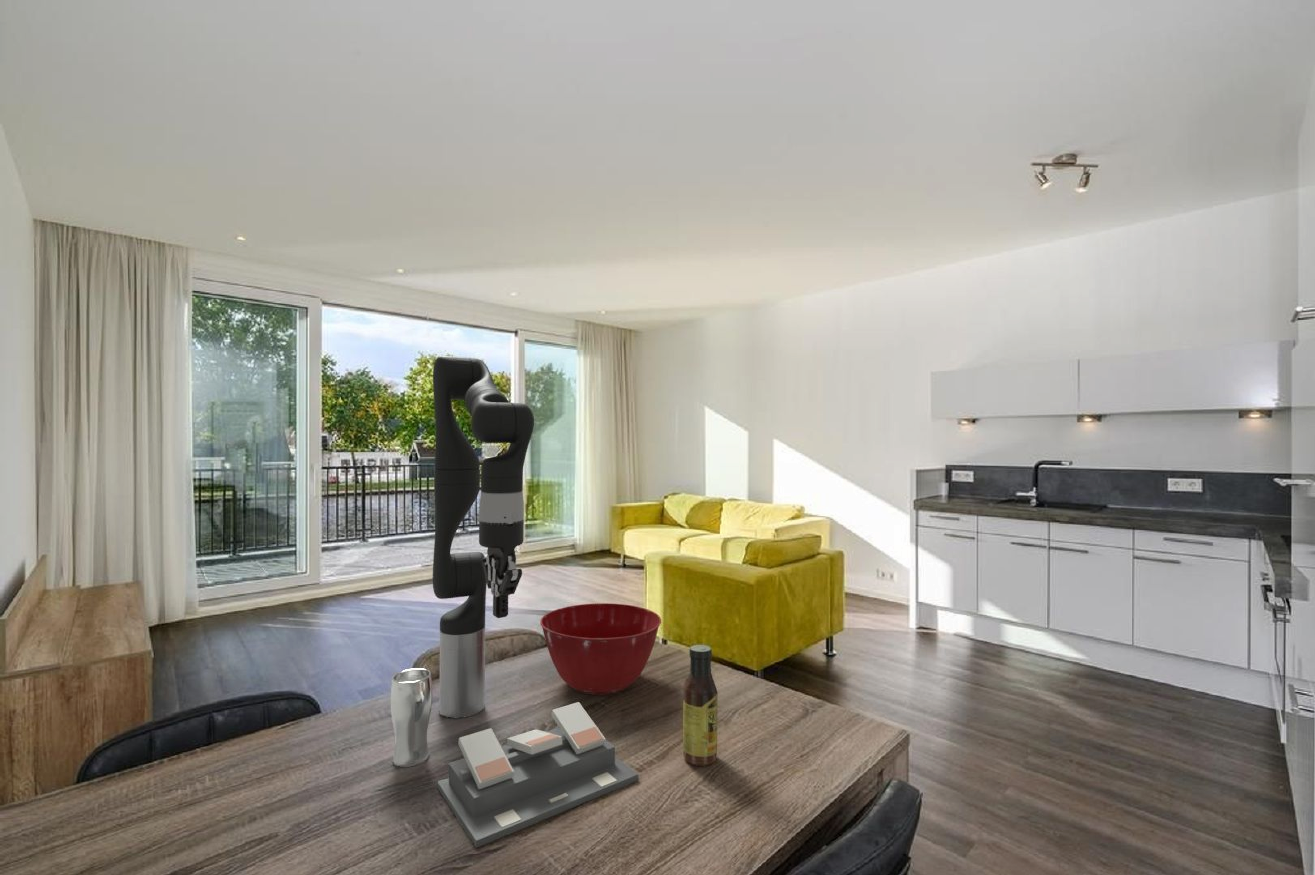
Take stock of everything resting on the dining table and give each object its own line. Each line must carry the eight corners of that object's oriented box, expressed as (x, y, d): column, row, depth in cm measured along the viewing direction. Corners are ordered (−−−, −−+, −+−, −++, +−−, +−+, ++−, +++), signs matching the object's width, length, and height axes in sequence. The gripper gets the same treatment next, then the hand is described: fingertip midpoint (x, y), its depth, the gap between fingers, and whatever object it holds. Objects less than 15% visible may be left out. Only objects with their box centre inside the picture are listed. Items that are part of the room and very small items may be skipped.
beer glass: (440, 753, 109) (440, 671, 109) (409, 772, 103) (410, 685, 103) (412, 745, 112) (412, 665, 112) (381, 763, 105) (381, 678, 106)
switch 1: (458, 743, 98) (459, 737, 98) (490, 734, 102) (491, 727, 101) (479, 789, 91) (479, 782, 90) (513, 777, 94) (514, 770, 94)
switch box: (437, 787, 98) (437, 756, 98) (584, 737, 115) (584, 710, 115) (476, 848, 84) (476, 811, 84) (638, 780, 101) (638, 749, 101)
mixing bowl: (611, 652, 161) (611, 595, 161) (685, 685, 140) (686, 619, 140) (517, 681, 142) (517, 616, 142) (587, 723, 121) (588, 647, 121)
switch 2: (507, 746, 103) (506, 737, 103) (536, 736, 106) (536, 728, 107) (531, 754, 95) (530, 746, 96) (562, 744, 99) (561, 736, 99)
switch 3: (551, 715, 108) (552, 709, 108) (577, 707, 112) (578, 701, 111) (576, 754, 101) (578, 748, 101) (604, 744, 104) (605, 738, 104)
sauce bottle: (715, 770, 104) (715, 656, 104) (680, 766, 105) (680, 653, 105) (719, 750, 110) (719, 643, 110) (685, 747, 112) (686, 641, 112)
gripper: (467, 514, 106) (466, 610, 107) (495, 524, 96) (494, 631, 96) (507, 510, 111) (506, 603, 111) (538, 521, 100) (536, 623, 100)
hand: (500, 616), depth 103 cm, fingers closed
